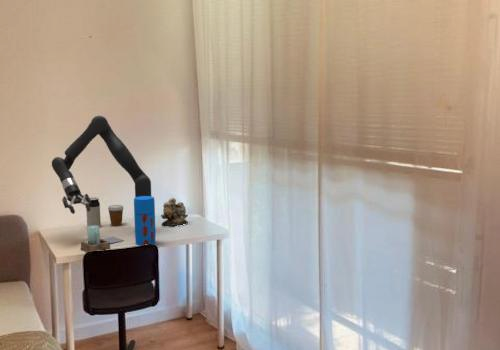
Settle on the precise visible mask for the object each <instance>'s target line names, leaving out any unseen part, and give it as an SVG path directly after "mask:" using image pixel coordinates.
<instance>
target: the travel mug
mask: <svg viewBox="0 0 500 350" xmlns="http://www.w3.org/2000/svg"><path fill="white" fill-rule="evenodd" d="M89 198H90V200H91V203H90V205H89V206H90V211H89V212H88V211H87V209H86V208H85V210H86V227H87V226H90V225H98V226H99V228H100V227H101V225H102V224H101V203H100V200H99V199H100V197H98V196H93V197H90V196H89Z"/></svg>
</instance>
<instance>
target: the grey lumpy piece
mask: <svg viewBox="0 0 500 350" xmlns="http://www.w3.org/2000/svg"><path fill="white" fill-rule="evenodd" d="M176 202H177V199H176V198H174V197H171V198H169V199H168V201H166V202H165V203H163V208H162V209H163V211H162V212H163V214H161V215H160V218H161V219H163V220H164V221H163V222H162V223H161V226H162V227H165V226H173V227H174V226H177V225H183V224H186V223H187V224H189V223H188V220H186V218H188V216H189V215H188V214H186V213H187V212H186V211H187V209H186V206H185V205H184V203H183V201H178V202H177V203H176ZM187 224H186V225H187ZM183 226H184V225H183Z"/></svg>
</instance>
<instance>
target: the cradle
mask: <svg viewBox="0 0 500 350" xmlns="http://www.w3.org/2000/svg"><path fill="white" fill-rule="evenodd" d="M103 239H104V238H100V244H96V245H90V244H88V242H86V241H85V242H84V241H80V250H81V251H84V252H86V253H88V252H91V251H97V250H106V249H110V250H111V244H110V242H108V241H106V240H103ZM106 251H107V250H106Z"/></svg>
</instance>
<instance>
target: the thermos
mask: <svg viewBox="0 0 500 350" xmlns="http://www.w3.org/2000/svg"><path fill="white" fill-rule="evenodd" d="M155 205H156V204H155V197H154V196H153V195H151V196H140V197H135V196H134V198H133V212H134V214H133V215H134V216H133V217H134V238H135V244H136V245H137V246H140V245H145V244H152V245H154V244H155V243H156V236H157V235H156V215H155V214H156V212H155V210H156V207H155ZM153 243H154V244H153Z"/></svg>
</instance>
